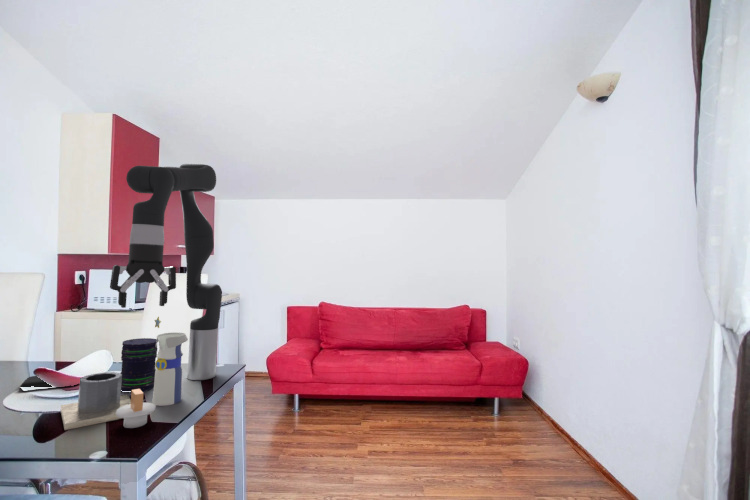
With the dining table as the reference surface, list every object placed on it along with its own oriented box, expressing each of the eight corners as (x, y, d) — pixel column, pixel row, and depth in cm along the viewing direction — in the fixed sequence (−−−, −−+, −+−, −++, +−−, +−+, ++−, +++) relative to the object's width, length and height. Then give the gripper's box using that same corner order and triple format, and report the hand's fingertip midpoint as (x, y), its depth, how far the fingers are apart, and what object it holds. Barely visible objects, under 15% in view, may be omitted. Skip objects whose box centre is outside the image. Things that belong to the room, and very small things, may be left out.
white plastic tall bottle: (169, 407, 106) (175, 318, 108) (143, 404, 108) (149, 316, 109) (189, 398, 114) (194, 314, 116) (165, 395, 116) (170, 313, 117)
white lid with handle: (118, 434, 89) (120, 399, 90) (112, 422, 96) (114, 390, 96) (158, 425, 95) (160, 392, 95) (150, 414, 101) (152, 384, 102)
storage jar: (161, 384, 126) (164, 338, 127) (142, 394, 116) (145, 344, 117) (132, 382, 127) (135, 337, 127) (111, 392, 117) (114, 343, 117)
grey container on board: (60, 411, 101) (63, 375, 102) (126, 399, 111) (128, 366, 112) (64, 430, 90) (67, 389, 91) (137, 415, 100) (139, 379, 101)
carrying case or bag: (83, 378, 130) (26, 384, 122) (83, 369, 130) (26, 374, 123) (79, 387, 121) (17, 394, 113) (80, 377, 121) (18, 383, 114)
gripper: (173, 245, 105) (169, 304, 104) (111, 241, 95) (106, 306, 95) (181, 244, 99) (177, 307, 99) (116, 240, 90) (111, 309, 89)
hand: (143, 306), depth 97 cm, fingers open, 8 cm apart
